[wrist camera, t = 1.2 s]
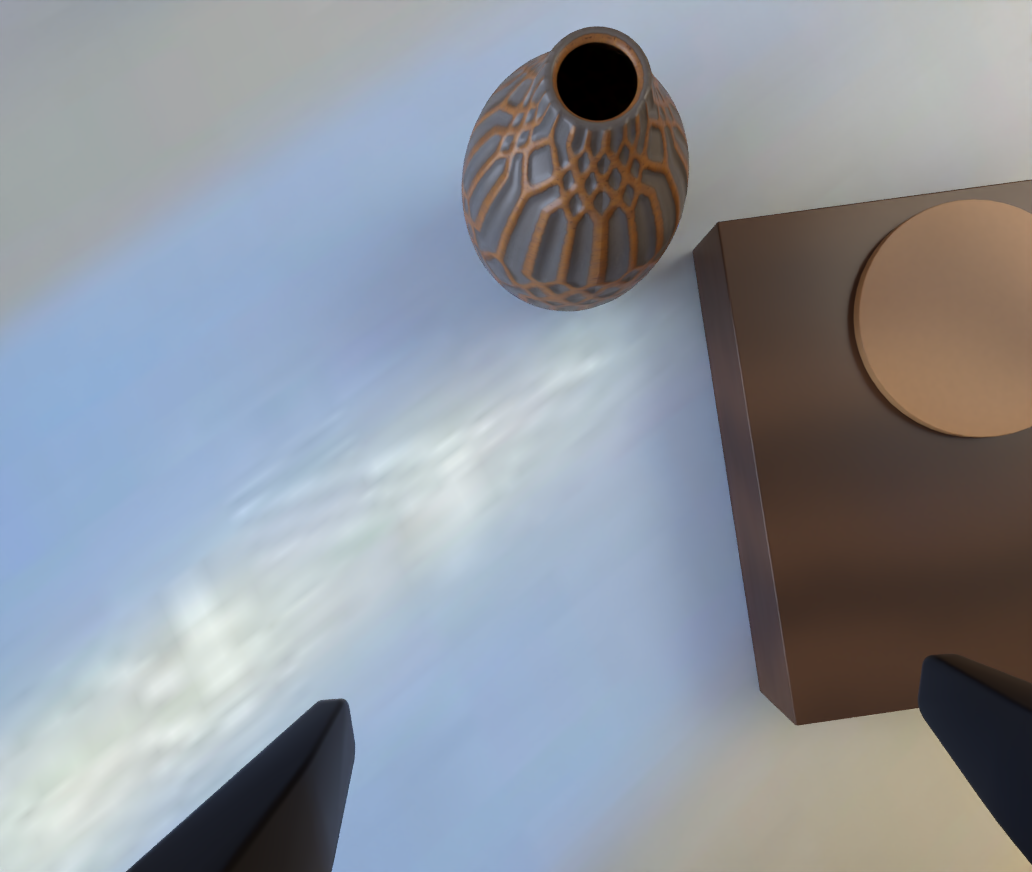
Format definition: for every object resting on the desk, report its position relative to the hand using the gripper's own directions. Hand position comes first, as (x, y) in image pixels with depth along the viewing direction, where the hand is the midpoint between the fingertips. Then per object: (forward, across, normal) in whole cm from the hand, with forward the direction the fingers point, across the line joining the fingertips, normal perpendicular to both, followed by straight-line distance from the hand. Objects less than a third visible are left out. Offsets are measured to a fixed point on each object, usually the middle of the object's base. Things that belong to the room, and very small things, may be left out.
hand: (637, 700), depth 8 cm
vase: (+14, -1, -8) cm, 17 cm away
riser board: (+12, -13, 0) cm, 17 cm away
